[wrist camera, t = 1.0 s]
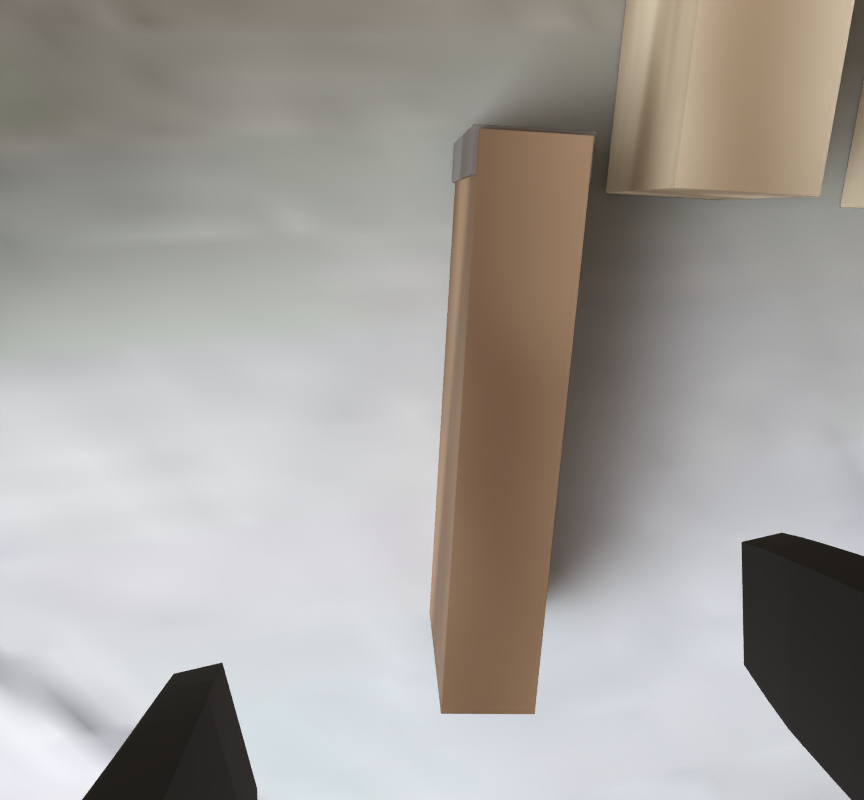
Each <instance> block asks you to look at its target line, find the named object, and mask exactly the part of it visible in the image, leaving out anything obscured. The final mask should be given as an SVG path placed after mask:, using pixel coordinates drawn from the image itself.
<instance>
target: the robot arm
mask: <svg viewBox="0 0 864 800" xmlns="http://www.w3.org/2000/svg"><path fill="white" fill-rule="evenodd" d="M742 584H743V635H744V665H745V667H746V668H747V670H748V671H749V673H750V674H751V676H752V677H753V679H754V680H755V682H756V683H757V685H758V686H759V688H760V689H761V691H762V692H763V694H764V695H765V697H766V698H767V700H768V701H769V702H770V704H771V705H772V707H773V708H774V709H775V711H776V712H777V714H778V715H779V716H780V718H781V719H782V720H783V722H784V723H785V725H786V726H787V727H788V729H789V730H790V731H791V732H792V733H793V735H794V736H795V737H796V738H797V739H798V740H799V741H800V743H801V744H802V745H803V746H804V747H805V748H806V749H807V751H808V752H809V753H810V754H811V755H812V756H813V757H814V758H815V760H816V761H817V762H818V763H819V764H820V765H821V766H822V768H823V769H824V770H825V771H826V772H827V773H828V774H829V775H830V777H831V778H832V779H833V780H834V781H835V782H836V783H837V784H838V785H839V787H840V788H841V789H842V790H843V791H844V792H845V793H846V794H847V795H848V797H849V798H850V799H851V800H864V556H861V555H858V554H855V553H852V552H848V551H845V550H842V549H839V548H836V547H832V546H829V545H826V544H823V543H819V542H816V541H812V540H809V539H805V538H801V537H798V536H793V535H789V534H785V533H779V534H774V535H770V536H766V537H762V538H757V539H753V540H749V541H744V542H742ZM82 800H257V787H256V783H255V780H254V776H253V772H252V769H251V765H250V761H249V758H248V754H247V751H246V747H245V743H244V740H243V736H242V732H241V729H240V725H239V722H238V718H237V714H236V711H235V707H234V703H233V700H232V696H231V693H230V689H229V685H228V682H227V678H226V675H225V671H224V667H223V664H222V663H219V664H214V665H210V666H206V667H202V668H197V669H193V670H189V671H184V672H180V673H176V674H173V676H172V677H171V679H170V680H169V681H168V683H167V684H166V685H165V687H164V688H163V689H162V691H161V692H160V693H159V695H158V696H157V698H156V699H155V700H154V702H153V703H152V704H151V706H150V707H149V709H148V710H147V711H146V713H145V714H144V716H143V717H142V718H141V720H140V721H139V723H138V724H137V725H136V727H135V728H134V730H133V731H132V733H131V734H130V735H129V737H128V738H127V739H126V741H125V742H124V744H123V745H122V746H121V748H120V749H119V751H118V752H117V753H116V755H115V756H114V758H113V759H112V760H111V762H110V763H109V764H108V766H107V767H106V768H105V770H104V771H103V772H102V774H101V775H100V776H99V778H98V779H97V780H96V782H95V783H94V785H93V786H92V787H91V789H90V790H89V791H88V793H87V794H86V795H85V797H84V798H83V799H82Z"/></svg>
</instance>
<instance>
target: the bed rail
mask: <svg viewBox="0 0 864 800" xmlns="http://www.w3.org/2000/svg"><path fill="white" fill-rule="evenodd" d="M596 134H597V132H589V131H573V130H558V129H543V128H527V127H512V126H497V125H482V124H474V125H473V126H472V127H471V128H470V129H469V130H468V131H467V132H466V133H465V134H464V135H463V136H461V137H460V138H459V139H458V140H457V141H456V142H455V143H454V154H453V171H452V182H455V197H454V213H453V230H452V247H451V264H450V280H449V297H448V314H447V331H446V348H445V364H444V381H443V398H442V415H441V431H440V448H439V465H438V482H437V499H436V515H435V532H434V549H433V566H432V582H431V599H430V619H431V628H432V637H433V646H434V655H435V664H436V672H437V681H438V690H439V699H440V708H441V714H535V704H536V695H537V685H538V675H539V666H540V656H541V646H542V637H543V627H544V617H545V608H546V598H547V588H548V578H549V569H550V559H551V549H552V540H553V530H554V520H555V511H556V501H557V491H558V482H559V472H560V462H561V452H562V443H563V433H564V423H565V414H566V404H567V394H568V385H569V375H570V365H571V356H572V346H573V336H574V326H575V317H576V307H577V297H578V288H579V278H580V268H581V259H582V249H583V239H584V230H585V220H586V210H587V201H588V191H589V182H591V181H592V173H593V163H594V153H595V144H596Z"/></svg>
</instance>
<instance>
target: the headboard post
mask: <svg viewBox="0 0 864 800" xmlns="http://www.w3.org/2000/svg"><path fill="white" fill-rule="evenodd" d="M854 2H855V0H626V8H625V18H624V27H623V36H622V45H621V55H620V64H619V73H618V82H617V91H616V101H615V110H614V119H613V128H612V138H611V147H610V156H609V165H608V174H607V184H606V193H612V194H629V195H646V196H663V197H680V198H697V199H714V200H723V199H752V198H781V197H810V196H820V193H821V187H822V182H823V176H824V170H825V165H826V159H827V153H828V148H829V142H830V137H831V131H832V125H833V120H834V114H835V109H836V103H837V97H838V92H839V86H840V81H841V75H842V69H843V64H844V58H845V52H846V47H847V41H848V36H849V30H850V24H851V19H852V13H853V8H854ZM840 207H850V208H864V81H863V86H862V92H861V97H860V102H859V108H858V113H857V119H856V124H855V129H854V135H853V140H852V145H851V151H850V156H849V162H848V167H847V172H846V178H845V183H844V189H843V194H842V199H841V205H840Z"/></svg>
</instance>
